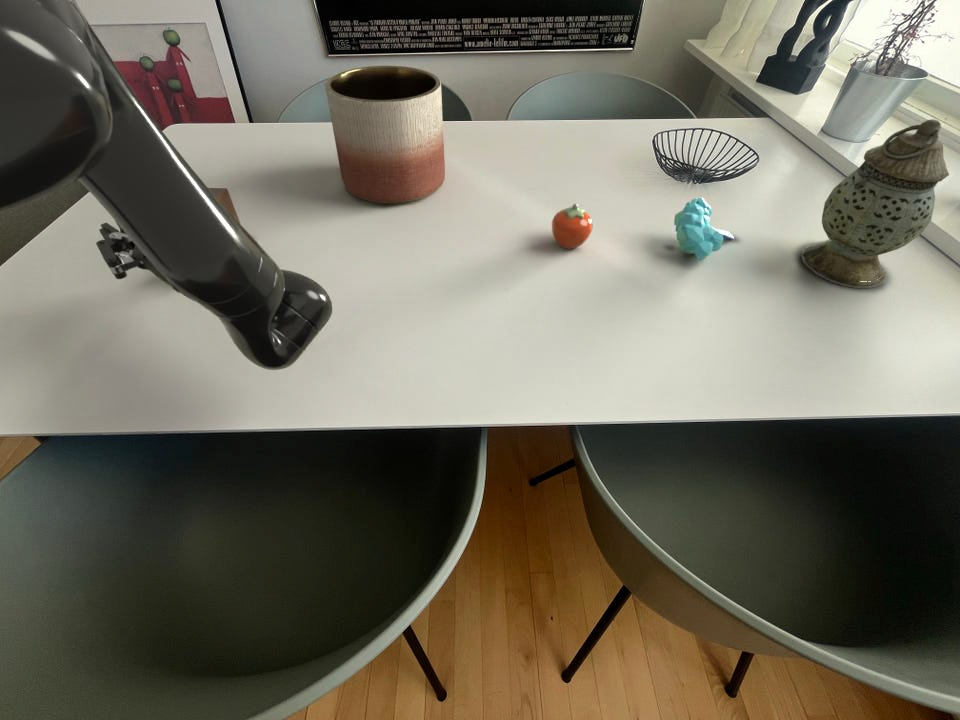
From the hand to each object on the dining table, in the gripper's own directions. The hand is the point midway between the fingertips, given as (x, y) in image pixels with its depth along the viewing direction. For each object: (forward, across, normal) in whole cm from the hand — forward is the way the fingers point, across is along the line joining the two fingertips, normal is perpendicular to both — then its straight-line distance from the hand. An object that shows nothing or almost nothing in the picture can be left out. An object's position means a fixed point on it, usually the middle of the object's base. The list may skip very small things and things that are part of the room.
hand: (128, 221), depth 65 cm
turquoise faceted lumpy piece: (-59, -68, +16) cm, 92 cm away
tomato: (-40, -55, +15) cm, 69 cm away
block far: (+8, -15, +14) cm, 22 cm away
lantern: (-82, -79, +16) cm, 115 cm away
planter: (+2, -52, +15) cm, 54 cm away
